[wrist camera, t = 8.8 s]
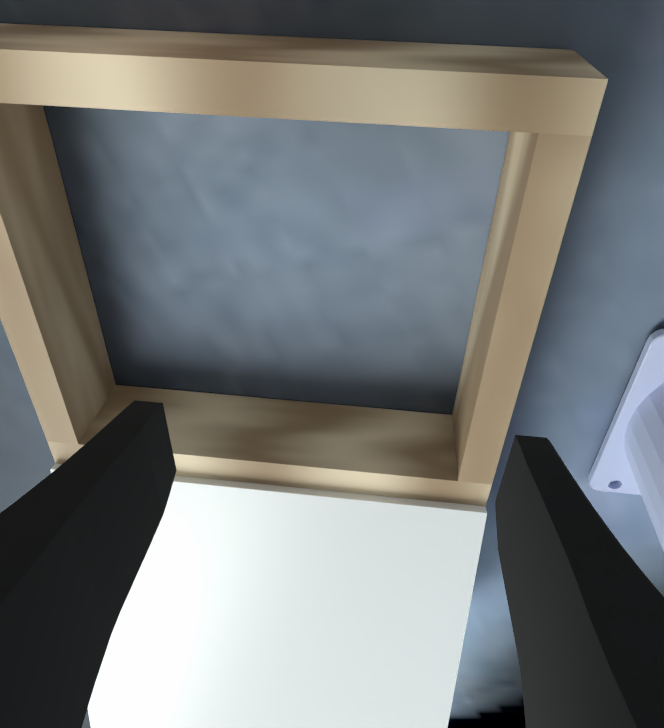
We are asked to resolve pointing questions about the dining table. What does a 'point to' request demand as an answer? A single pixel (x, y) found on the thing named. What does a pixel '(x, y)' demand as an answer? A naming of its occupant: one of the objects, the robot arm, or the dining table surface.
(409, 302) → the dining table surface
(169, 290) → the dining table surface
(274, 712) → the cold frame
